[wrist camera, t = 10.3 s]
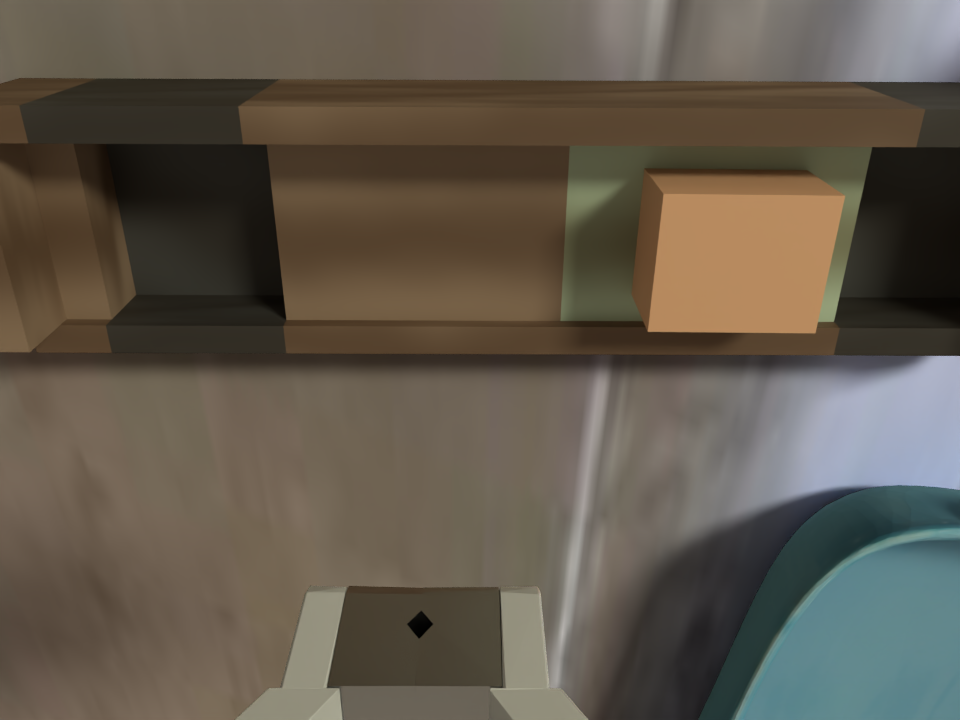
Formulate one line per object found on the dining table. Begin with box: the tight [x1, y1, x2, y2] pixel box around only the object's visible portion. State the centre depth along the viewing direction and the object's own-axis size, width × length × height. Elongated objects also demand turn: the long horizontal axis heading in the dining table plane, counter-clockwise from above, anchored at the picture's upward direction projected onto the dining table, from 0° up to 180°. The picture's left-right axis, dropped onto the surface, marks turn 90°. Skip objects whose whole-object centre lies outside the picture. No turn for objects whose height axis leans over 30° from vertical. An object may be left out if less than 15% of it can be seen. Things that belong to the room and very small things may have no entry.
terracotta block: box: [631, 168, 845, 333], centre depth 30 cm, size 5×6×4 cm
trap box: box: [0, 78, 960, 356], centre depth 31 cm, size 10×40×6 cm, turn 90°
